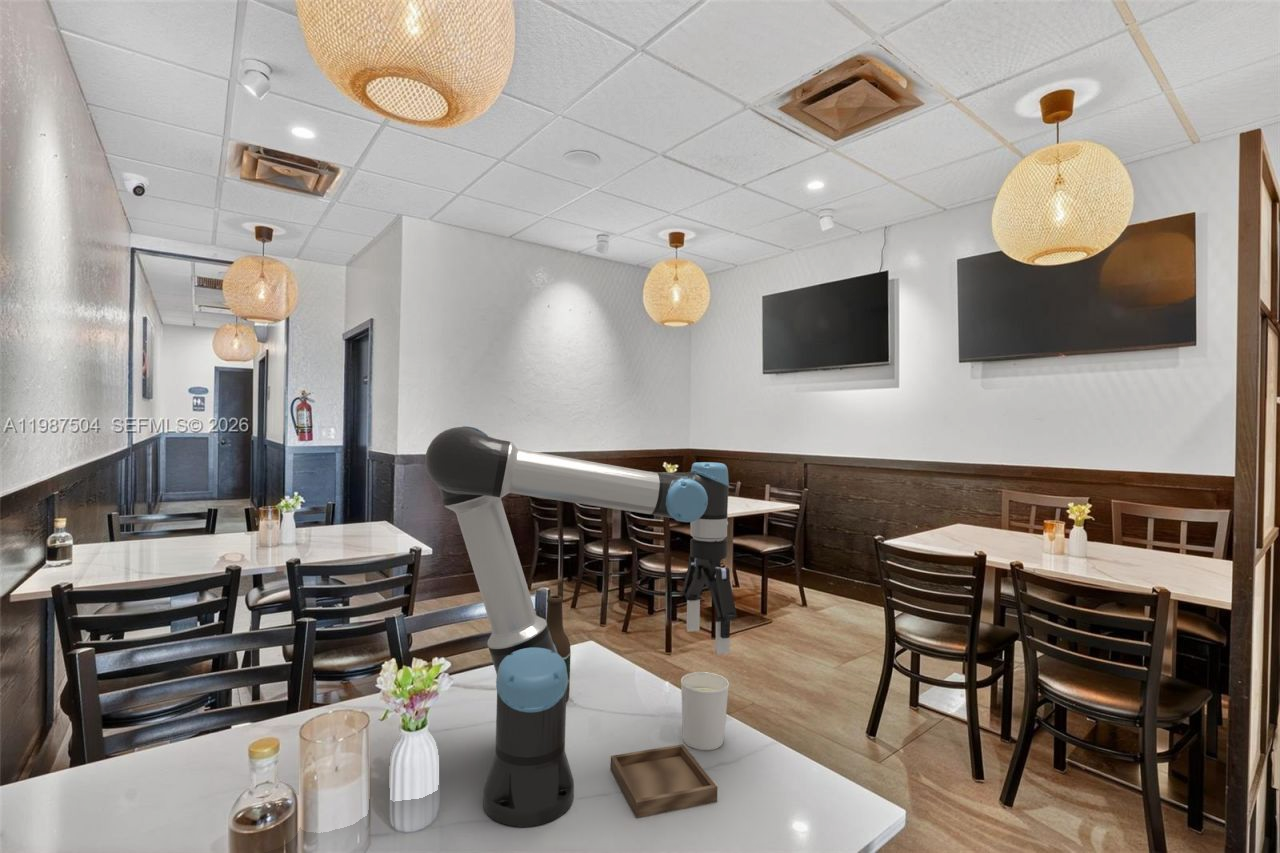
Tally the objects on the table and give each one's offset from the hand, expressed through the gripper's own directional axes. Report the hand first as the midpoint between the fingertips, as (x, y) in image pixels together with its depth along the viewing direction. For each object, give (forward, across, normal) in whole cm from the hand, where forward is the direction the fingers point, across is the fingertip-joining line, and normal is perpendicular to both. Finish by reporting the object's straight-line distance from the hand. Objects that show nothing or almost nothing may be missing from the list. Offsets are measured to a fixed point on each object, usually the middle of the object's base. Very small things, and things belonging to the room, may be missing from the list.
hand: (706, 641), depth 123 cm
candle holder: (+20, 0, 0) cm, 20 cm away
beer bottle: (+20, +26, +26) cm, 42 cm away
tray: (+20, -12, +14) cm, 27 cm away
